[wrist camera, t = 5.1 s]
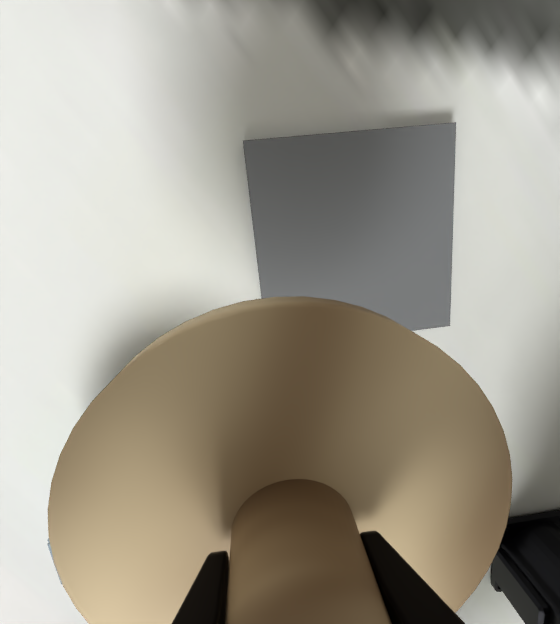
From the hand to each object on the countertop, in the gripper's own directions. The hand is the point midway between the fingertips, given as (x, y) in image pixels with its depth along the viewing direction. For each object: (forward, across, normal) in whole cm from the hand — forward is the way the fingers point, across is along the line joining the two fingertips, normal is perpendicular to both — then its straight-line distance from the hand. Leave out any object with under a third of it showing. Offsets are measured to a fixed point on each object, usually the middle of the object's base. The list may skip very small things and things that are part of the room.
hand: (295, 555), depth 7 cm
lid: (+2, 0, 0) cm, 2 cm away
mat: (+12, -5, -6) cm, 15 cm away
